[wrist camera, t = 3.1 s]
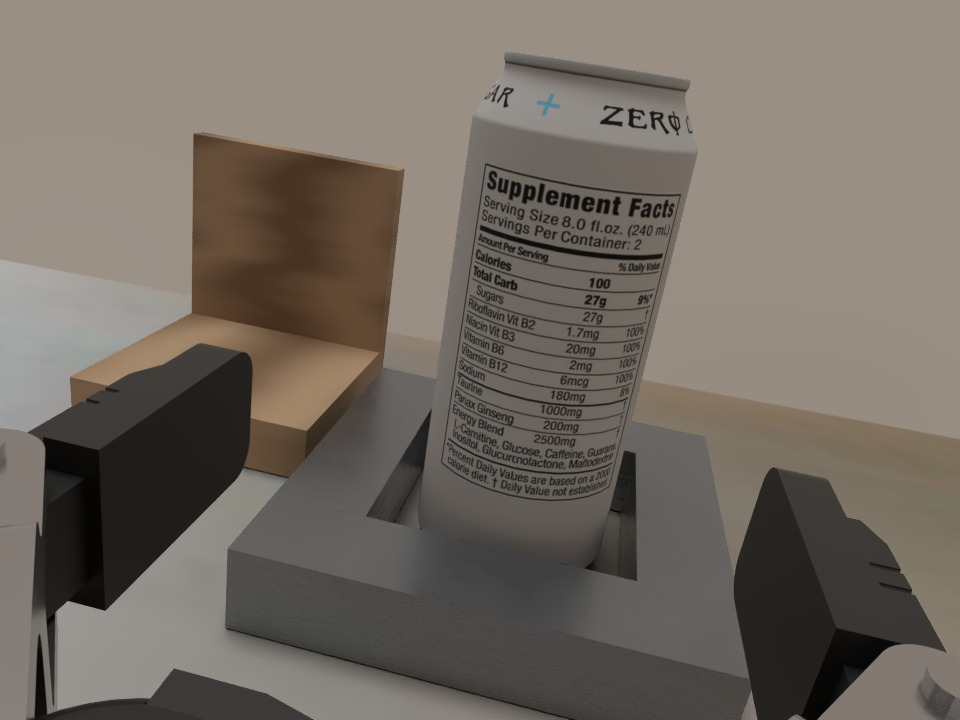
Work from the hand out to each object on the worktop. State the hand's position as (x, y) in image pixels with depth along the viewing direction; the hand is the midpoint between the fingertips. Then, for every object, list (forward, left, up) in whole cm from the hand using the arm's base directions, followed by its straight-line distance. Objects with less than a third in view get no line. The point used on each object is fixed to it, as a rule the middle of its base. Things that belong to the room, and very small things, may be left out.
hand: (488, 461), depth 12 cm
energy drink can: (0, +11, -9) cm, 14 cm away
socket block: (0, +11, -9) cm, 14 cm away
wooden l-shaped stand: (-12, +17, -9) cm, 22 cm away
